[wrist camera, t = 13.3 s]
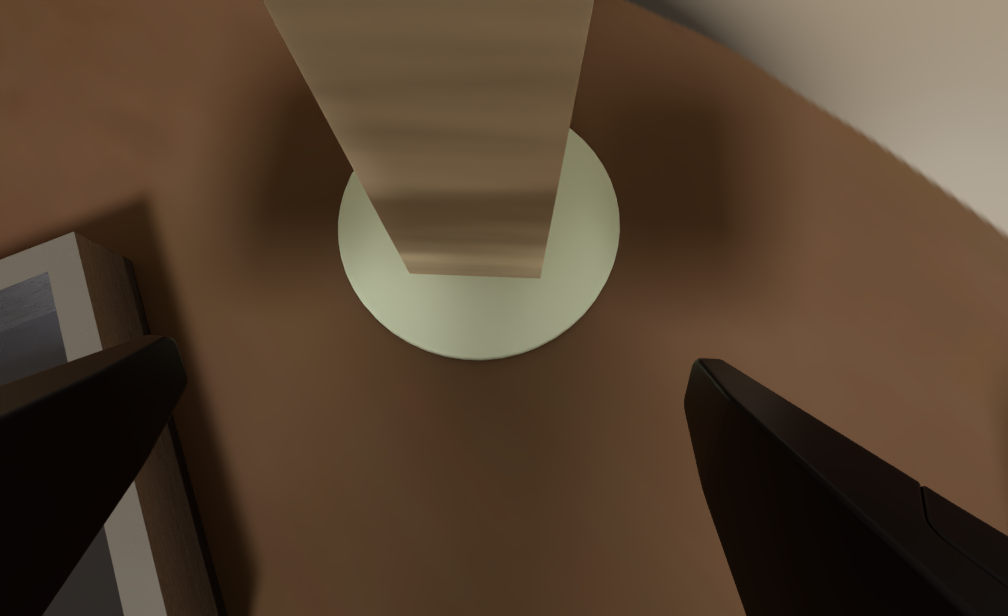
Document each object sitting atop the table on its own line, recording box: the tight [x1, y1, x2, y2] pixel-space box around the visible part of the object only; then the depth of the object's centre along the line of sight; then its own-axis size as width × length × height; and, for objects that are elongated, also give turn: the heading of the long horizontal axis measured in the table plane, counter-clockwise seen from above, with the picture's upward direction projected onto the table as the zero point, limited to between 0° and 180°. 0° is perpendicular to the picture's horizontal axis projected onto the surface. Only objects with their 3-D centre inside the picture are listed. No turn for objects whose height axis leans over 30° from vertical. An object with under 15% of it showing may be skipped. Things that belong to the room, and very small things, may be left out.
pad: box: [338, 128, 620, 360], centre depth 18 cm, size 10×10×1 cm
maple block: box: [262, 0, 594, 278], centre depth 12 cm, size 4×4×12 cm
